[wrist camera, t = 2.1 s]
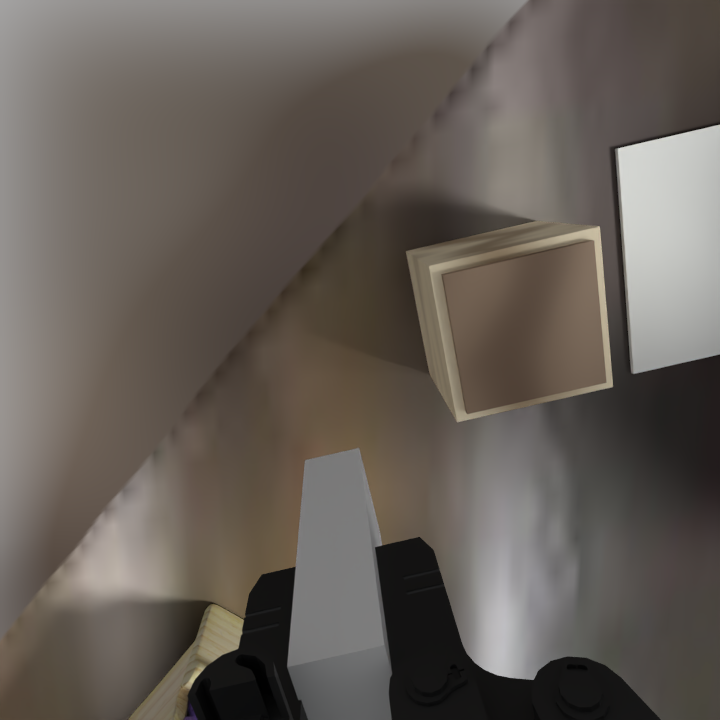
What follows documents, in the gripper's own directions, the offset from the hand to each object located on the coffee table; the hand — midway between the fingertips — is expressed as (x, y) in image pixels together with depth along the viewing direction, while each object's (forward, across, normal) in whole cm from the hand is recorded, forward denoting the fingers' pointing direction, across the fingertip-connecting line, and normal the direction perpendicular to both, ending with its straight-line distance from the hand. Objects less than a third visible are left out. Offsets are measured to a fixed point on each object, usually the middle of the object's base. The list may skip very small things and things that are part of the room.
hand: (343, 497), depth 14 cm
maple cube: (+19, +9, 0) cm, 21 cm away
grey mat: (+19, +25, 0) cm, 32 cm away
